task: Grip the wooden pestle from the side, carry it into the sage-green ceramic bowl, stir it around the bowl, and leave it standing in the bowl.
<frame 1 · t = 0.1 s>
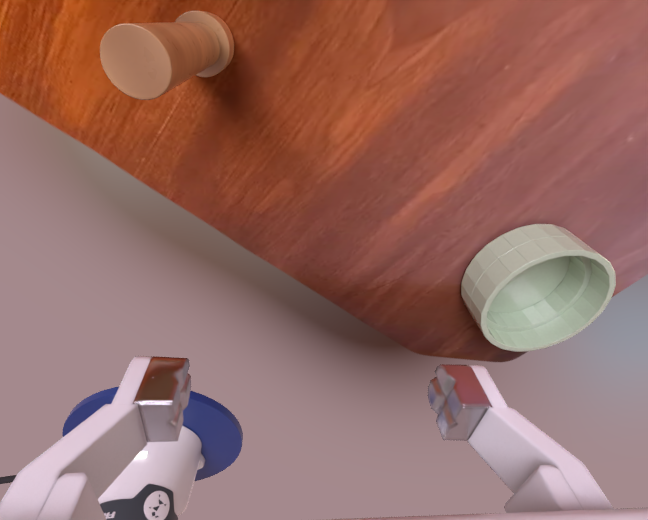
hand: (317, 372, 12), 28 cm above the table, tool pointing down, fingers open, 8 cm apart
bowl: (517, 273, 47), on the table
wooden pestle: (207, 43, 30), on the table
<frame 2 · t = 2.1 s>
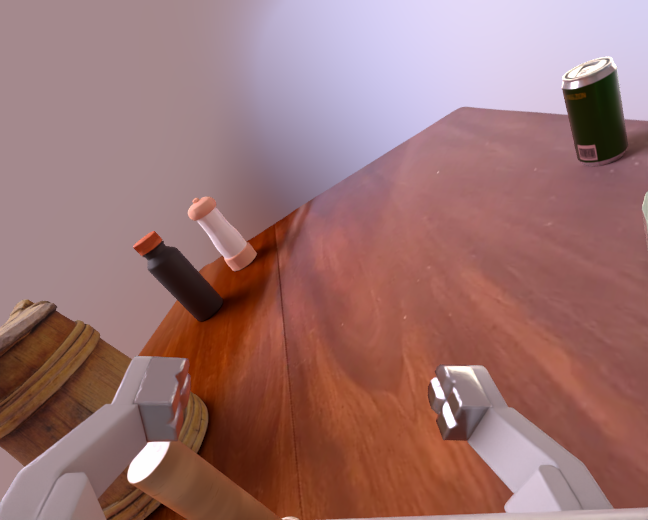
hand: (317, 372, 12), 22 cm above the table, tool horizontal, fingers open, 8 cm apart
beer can: (602, 157, 48), on the table
pepper shaker: (245, 262, 90), on the table
bottle: (211, 310, 77), on the table
tankard: (154, 447, 50), on the table
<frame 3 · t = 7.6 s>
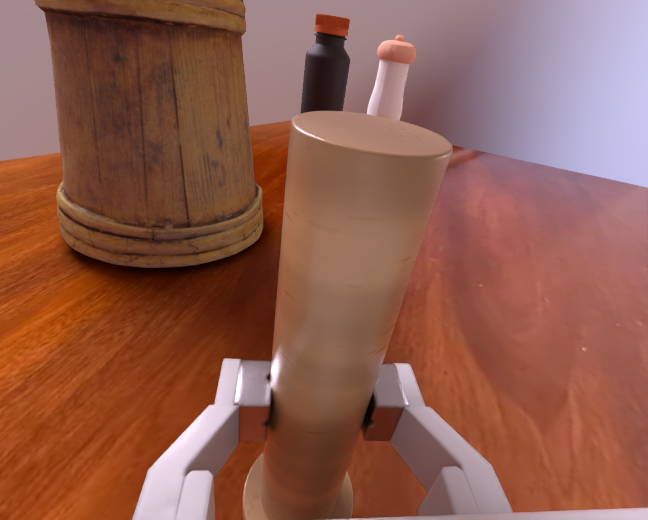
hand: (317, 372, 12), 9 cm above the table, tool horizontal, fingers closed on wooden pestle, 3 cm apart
pepper shaker: (376, 145, 73), on the table
bottle: (316, 154, 62), on the table
tankard: (179, 213, 38), on the table
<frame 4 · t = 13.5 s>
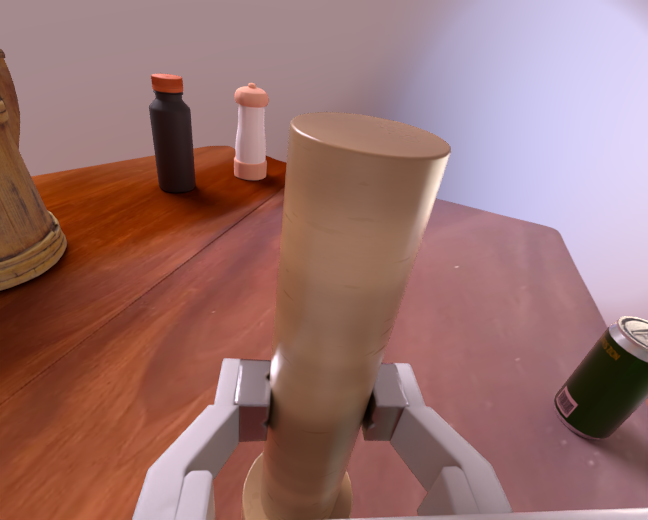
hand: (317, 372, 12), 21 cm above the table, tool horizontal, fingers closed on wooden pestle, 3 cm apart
beer can: (577, 418, 37), on the table
pepper shaker: (250, 175, 82), on the table
bottle: (177, 187, 72), on the table
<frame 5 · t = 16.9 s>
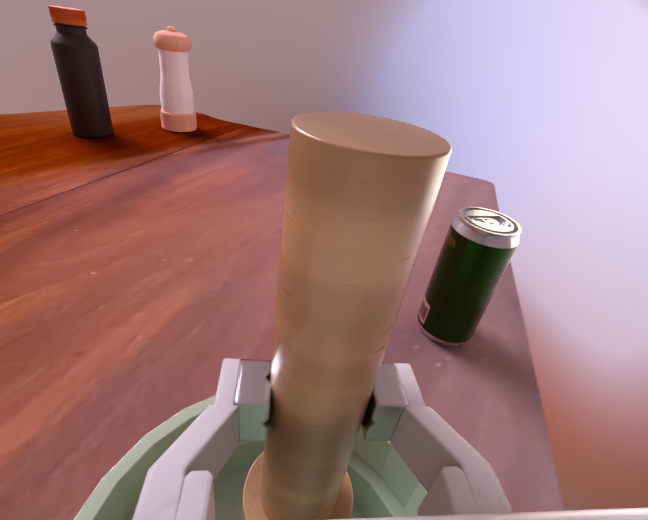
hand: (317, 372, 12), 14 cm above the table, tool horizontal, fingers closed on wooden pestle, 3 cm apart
beer can: (441, 329, 35), on the table
pepper shaker: (179, 128, 80), on the table
bottle: (93, 134, 69), on the table
when the fingers open (10 cm above the table, at t = 19.6 s): wooden pestle stays where it is, resting on bowl.
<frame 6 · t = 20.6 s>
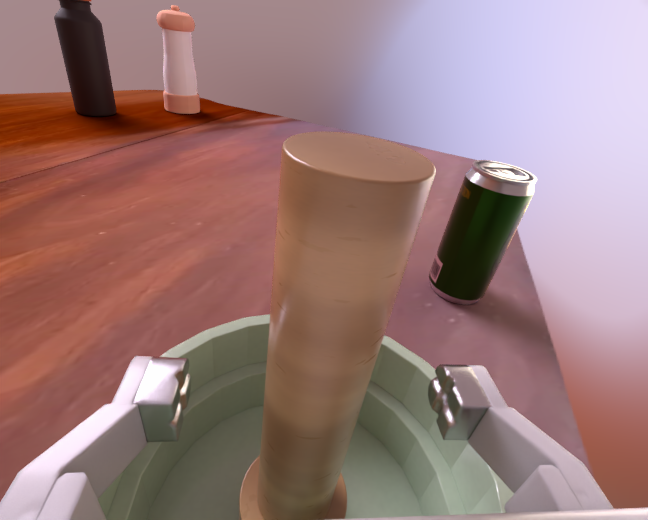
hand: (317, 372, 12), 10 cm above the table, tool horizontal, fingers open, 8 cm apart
beer can: (453, 290, 35), on the table
pepper shaker: (182, 110, 79), on the table
bottle: (97, 113, 69), on the table
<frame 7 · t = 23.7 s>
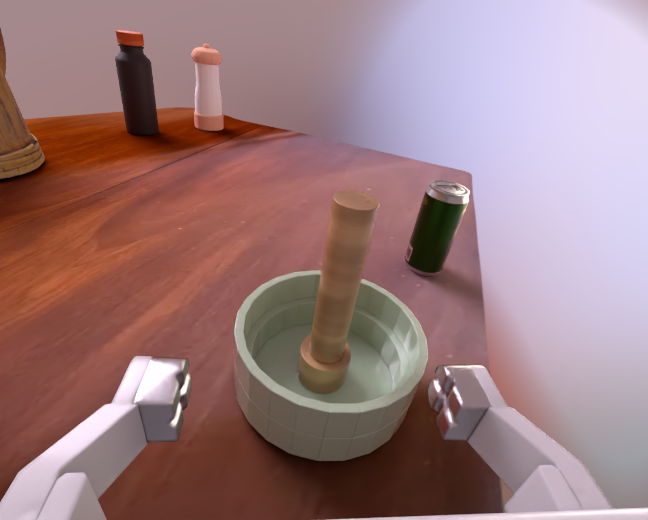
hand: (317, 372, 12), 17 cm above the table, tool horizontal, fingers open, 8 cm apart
beer can: (421, 267, 51), on the table
pepper shaker: (209, 127, 95), on the table
bowl: (322, 378, 32), on the table
bottle: (143, 132, 84), on the table
wooden pestle: (321, 373, 32), point 1 cm above the table, touching bowl
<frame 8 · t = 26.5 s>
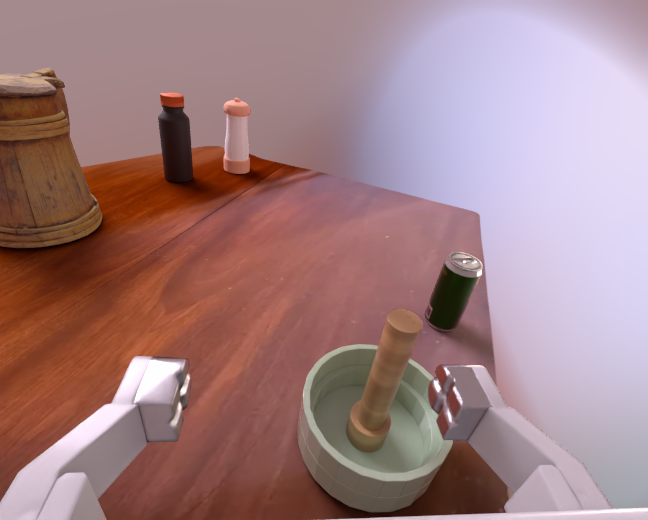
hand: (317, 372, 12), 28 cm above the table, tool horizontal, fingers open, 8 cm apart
beer can: (439, 322, 59), on the table
pepper shaker: (236, 170, 103), on the table
bowl: (365, 436, 40), on the table
bottle: (179, 178, 92), on the table
tankard: (53, 220, 68), on the table
wooden pestle: (365, 432, 40), point 1 cm above the table, touching bowl
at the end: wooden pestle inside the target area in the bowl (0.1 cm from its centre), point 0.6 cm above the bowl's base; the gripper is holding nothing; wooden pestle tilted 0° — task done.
